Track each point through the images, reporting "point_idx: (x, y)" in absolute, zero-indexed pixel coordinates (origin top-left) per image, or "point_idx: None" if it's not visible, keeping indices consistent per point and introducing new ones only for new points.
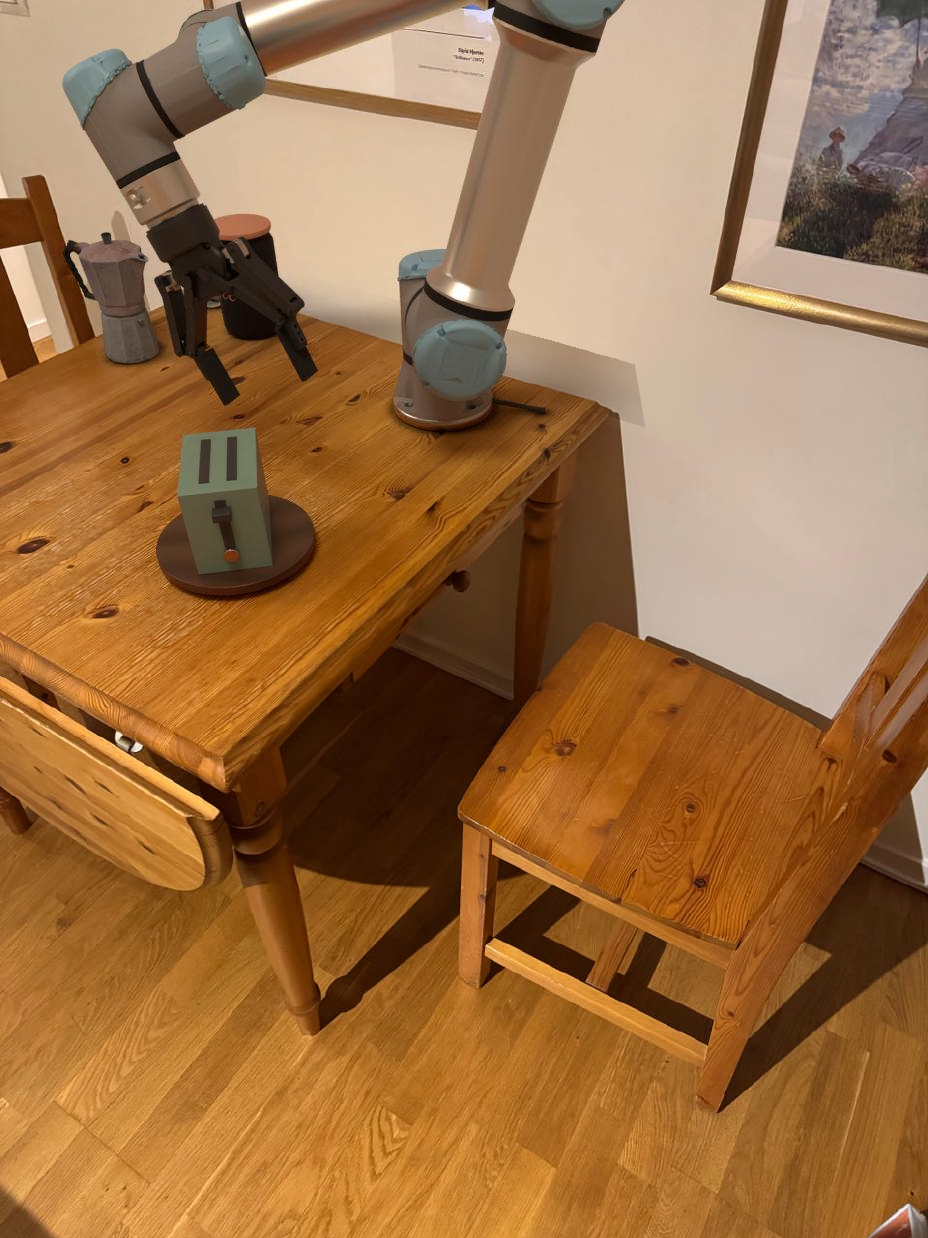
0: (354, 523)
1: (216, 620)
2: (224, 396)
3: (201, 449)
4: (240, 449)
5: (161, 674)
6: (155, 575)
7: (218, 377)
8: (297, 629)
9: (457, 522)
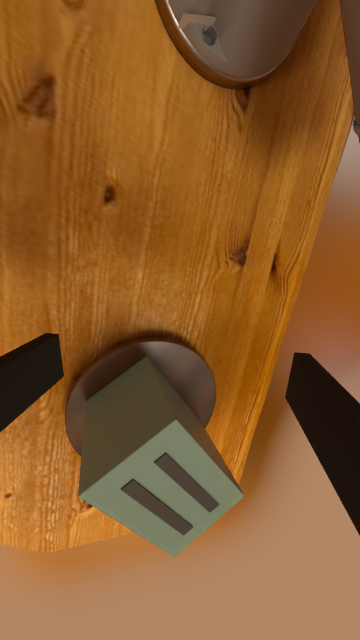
0: (219, 318)
1: None
2: (52, 384)
3: (140, 502)
4: (188, 466)
5: None
6: None
7: (17, 395)
8: (229, 432)
9: (296, 277)
